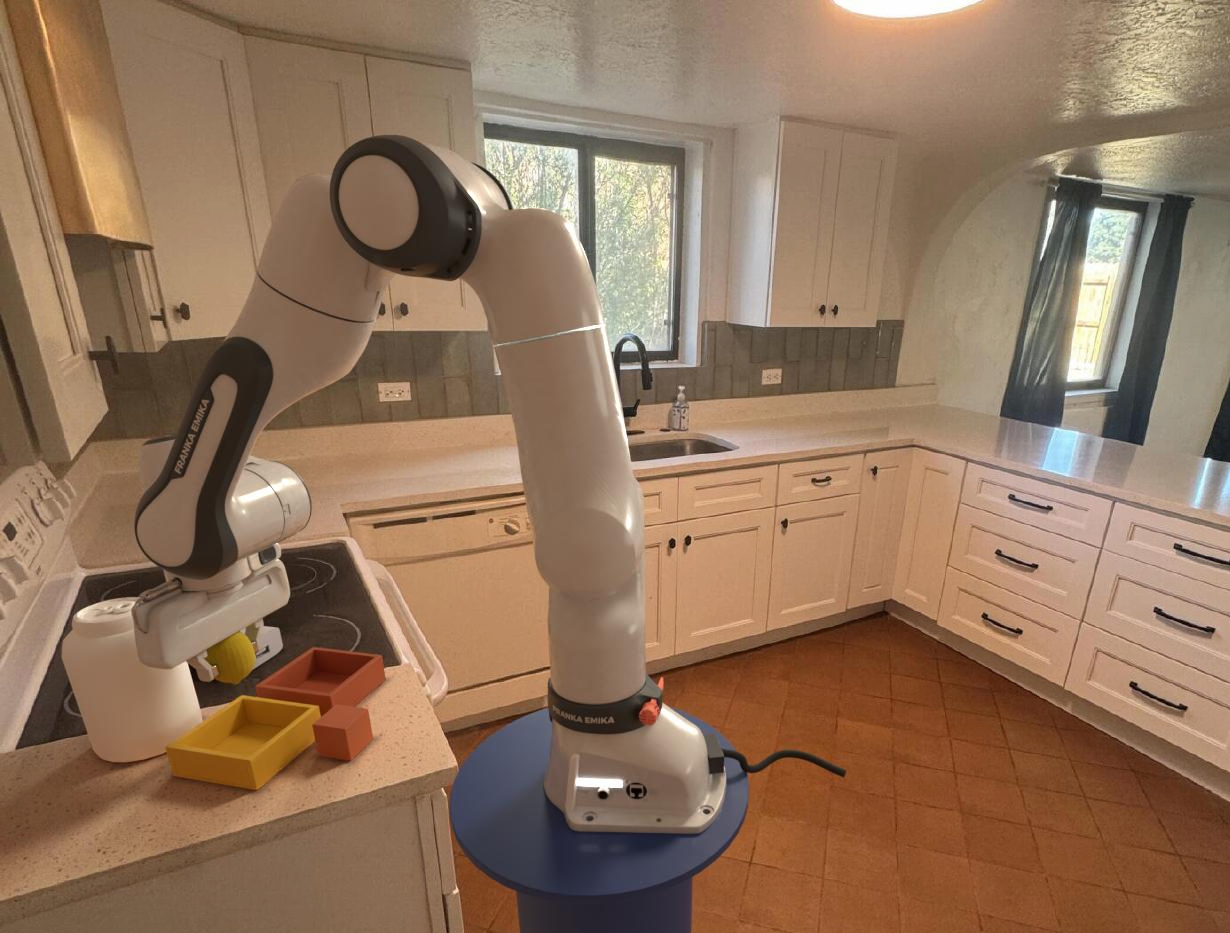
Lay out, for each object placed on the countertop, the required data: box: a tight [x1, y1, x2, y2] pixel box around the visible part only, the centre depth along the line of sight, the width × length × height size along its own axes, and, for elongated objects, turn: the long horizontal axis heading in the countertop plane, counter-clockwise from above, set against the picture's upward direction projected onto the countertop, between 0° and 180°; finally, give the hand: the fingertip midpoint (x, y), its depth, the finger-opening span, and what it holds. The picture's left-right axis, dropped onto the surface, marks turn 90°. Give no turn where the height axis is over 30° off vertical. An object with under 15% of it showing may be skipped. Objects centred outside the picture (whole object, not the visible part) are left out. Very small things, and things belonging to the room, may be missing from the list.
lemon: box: [204, 631, 255, 685], centre depth 88 cm, size 6×6×8 cm
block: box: [312, 705, 374, 762], centre depth 94 cm, size 5×5×5 cm
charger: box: [240, 625, 284, 670], centre depth 118 cm, size 5×9×15 cm
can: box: [61, 596, 204, 763], centre depth 93 cm, size 12×12×20 cm
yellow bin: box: [165, 694, 321, 791], centre depth 93 cm, size 13×13×4 cm
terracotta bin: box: [254, 646, 387, 717], centre depth 107 cm, size 13×13×4 cm
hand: (232, 665), depth 89 cm, fingers closed on lemon, 5 cm apart
